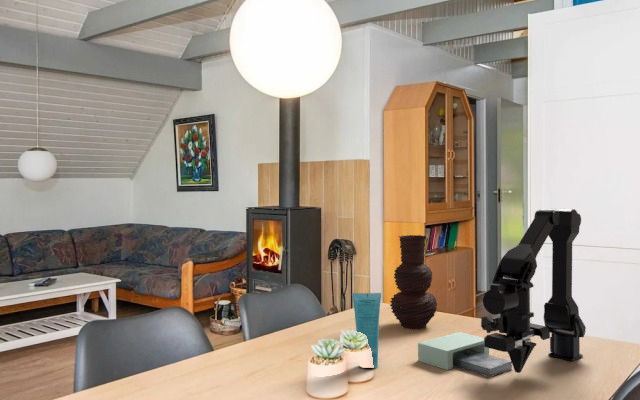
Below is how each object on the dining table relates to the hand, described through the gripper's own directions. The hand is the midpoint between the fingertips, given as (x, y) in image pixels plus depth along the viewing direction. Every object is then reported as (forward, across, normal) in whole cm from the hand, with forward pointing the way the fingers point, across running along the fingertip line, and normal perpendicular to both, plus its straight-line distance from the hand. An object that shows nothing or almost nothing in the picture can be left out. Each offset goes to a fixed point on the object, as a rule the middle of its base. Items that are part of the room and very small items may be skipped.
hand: (517, 372), depth 136 cm
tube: (+2, +22, -29) cm, 37 cm away
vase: (+2, -17, -51) cm, 53 cm away
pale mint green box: (+1, 0, -20) cm, 20 cm away
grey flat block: (+2, 0, -13) cm, 13 cm away
